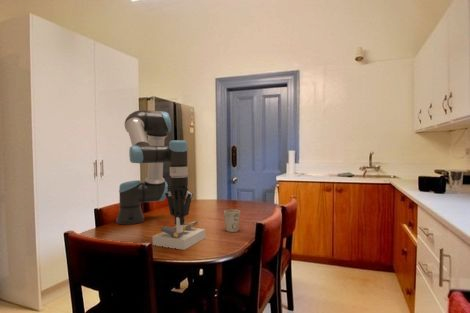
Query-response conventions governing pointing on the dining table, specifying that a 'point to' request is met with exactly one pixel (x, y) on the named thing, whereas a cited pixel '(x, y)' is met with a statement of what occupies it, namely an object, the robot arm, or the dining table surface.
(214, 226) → the dining table surface
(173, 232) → the rocker
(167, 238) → the switch unit
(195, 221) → the rocker
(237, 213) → the mug
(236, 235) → the dining table surface
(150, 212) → the dining table surface
